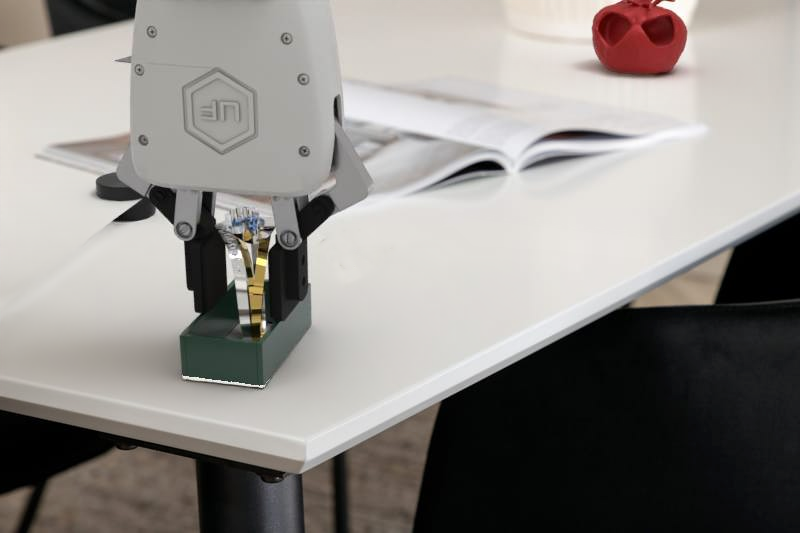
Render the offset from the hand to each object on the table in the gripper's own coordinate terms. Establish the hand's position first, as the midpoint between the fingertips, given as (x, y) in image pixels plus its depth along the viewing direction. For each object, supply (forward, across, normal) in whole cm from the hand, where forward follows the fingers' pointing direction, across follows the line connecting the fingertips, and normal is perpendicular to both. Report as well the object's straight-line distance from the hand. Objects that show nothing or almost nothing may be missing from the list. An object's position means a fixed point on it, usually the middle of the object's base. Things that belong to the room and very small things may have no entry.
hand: (248, 304), depth 67 cm
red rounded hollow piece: (+3, +16, +78) cm, 80 cm away
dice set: (+3, -35, +71) cm, 79 cm away
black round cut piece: (+3, -16, +20) cm, 26 cm away
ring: (+3, 0, 0) cm, 3 cm away
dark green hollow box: (+3, 0, 0) cm, 3 cm away
